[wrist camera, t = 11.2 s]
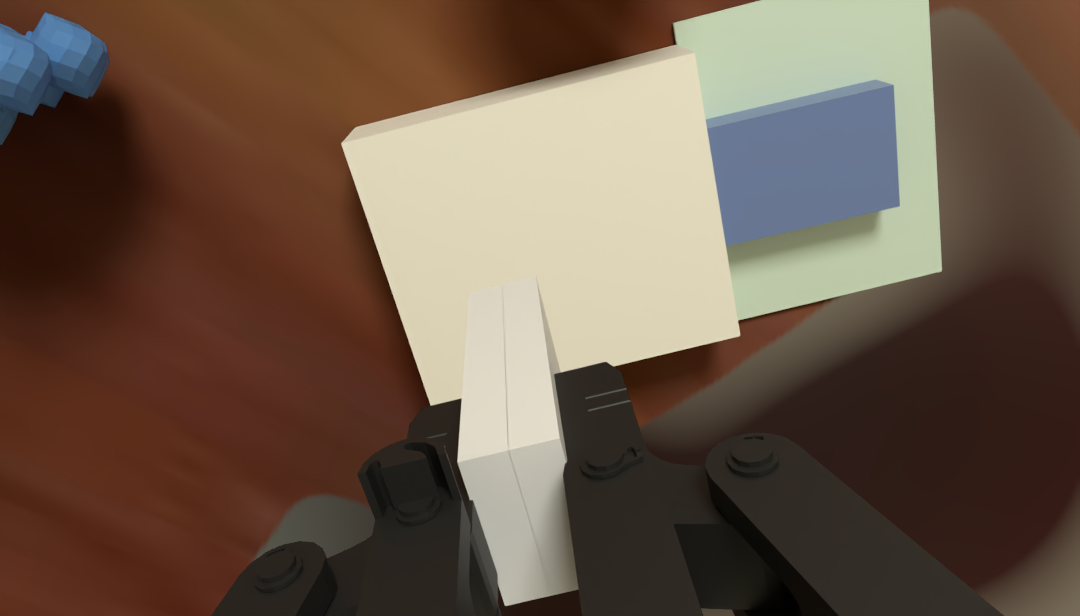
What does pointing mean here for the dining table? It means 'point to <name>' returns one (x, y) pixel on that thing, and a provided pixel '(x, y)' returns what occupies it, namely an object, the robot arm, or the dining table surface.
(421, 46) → the dining table surface
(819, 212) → the blue rectangular block
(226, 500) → the dining table surface
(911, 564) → the robot arm
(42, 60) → the grapes
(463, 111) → the cream flat block
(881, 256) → the mat
